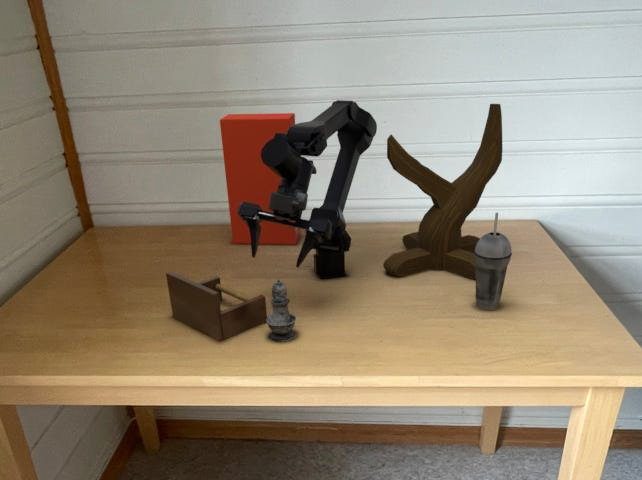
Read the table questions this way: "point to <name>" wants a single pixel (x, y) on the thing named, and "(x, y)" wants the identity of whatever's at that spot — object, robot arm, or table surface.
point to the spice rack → (213, 307)
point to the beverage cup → (491, 268)
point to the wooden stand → (446, 207)
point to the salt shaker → (280, 315)
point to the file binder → (253, 172)
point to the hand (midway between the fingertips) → (275, 262)
